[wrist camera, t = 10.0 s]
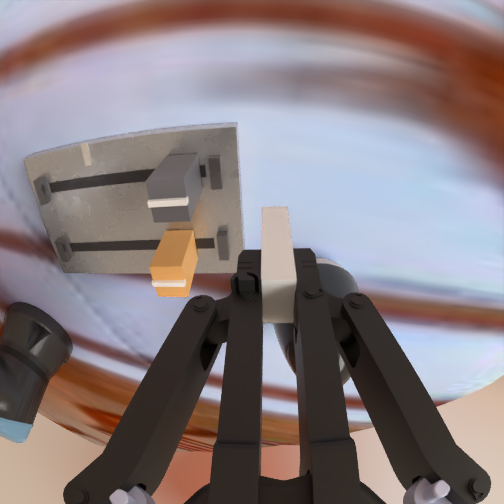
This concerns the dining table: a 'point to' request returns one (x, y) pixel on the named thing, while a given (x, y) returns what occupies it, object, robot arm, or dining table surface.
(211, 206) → the console
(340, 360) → the pump dispenser
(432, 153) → the dining table surface
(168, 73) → the dining table surface
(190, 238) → the fader orange
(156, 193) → the fader graphite
